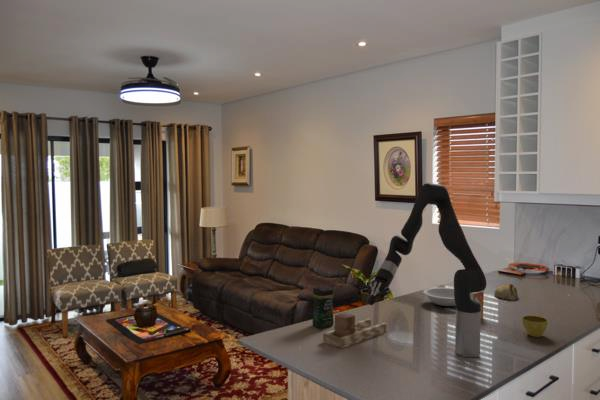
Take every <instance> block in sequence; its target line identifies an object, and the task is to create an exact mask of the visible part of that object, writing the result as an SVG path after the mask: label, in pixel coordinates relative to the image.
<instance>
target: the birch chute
mask: <svg viewBox="0 0 600 400" xmlns="http://www.w3.org/2000/svg"><path fill="white" fill-rule="evenodd" d="M385 333H387V323H386V322H381V323H378V324H375V325H372V319H371V318H365V319H362V320H359V321H357V322H356V321H355V333H352V334H350V335H347V336H344V337H341V338H340V337H337V336H335V329H333V330H329V331H326V332H323V334H322V342H323V343H324V344H327V345H329V346H333V347H335V348H338V349H343V348H346V347H350V346H352V345H354V344H357V343H360V342H362V341H366V340H368V339H371V338H374V337H376V336H379V335H381V334H385Z"/></svg>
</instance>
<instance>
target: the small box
mask: <svg viewBox="0 0 600 400" xmlns="http://www.w3.org/2000/svg"><path fill="white" fill-rule="evenodd" d="M484 291H485V290H484ZM484 291H482V292H475V293H470V299H471V300H474V301H477V302H479V303H480V305H481V318H483V317H484V300H485V299H484V293H485V292H484Z"/></svg>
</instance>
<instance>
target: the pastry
mask: <svg viewBox="0 0 600 400" xmlns="http://www.w3.org/2000/svg"><path fill="white" fill-rule="evenodd" d="M494 297H496V298H498V299H502V300H507V301H517V299H518V297H519V294H518V290H517V287H515V286H514V285H513V284H512V283H511V284H504V285H502V286H501V285H500V286H498V287H496V290H495V291H494Z"/></svg>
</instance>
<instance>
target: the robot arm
mask: <svg viewBox="0 0 600 400" xmlns="http://www.w3.org/2000/svg"><path fill="white" fill-rule="evenodd" d="M428 205H433V206H436V208H437V209H438V212H439V214H440V215H439V216H440V220H439V224H438V234H439V237H440V240H441V241H442V243H443V246H444V247H445V248H446V250H447V251H448V252H450V253H451V254H452V255H453V256H454V257H456V259H458V260H459V262H460V263H461V264H462V265H463V266H462V267H464V268H462V269H457V270H456V271H455V273H454V275H453V289H454V300H455V304H456V306H455V329H454V330H455V332H454V335H455V337H454V338H455V340H454V342H455V343H454V352H455V354H457V355H459V356H461V357H463V358H480V355H481V321H482V320H481V319H482V317H481V305H480V303H479V302H477V301H474V300H471V299H470V293H475V292H482V291H485V290H486V289H487V279H486V276H485V273H484V271H483V269H482V266H480V264H479V262H478V260H477V258H476V256H475V255H474V253H473V251H472V249H471V247H470V245H469V243H468V240H467V238H466V236H465V233H464V231H463V228H462V227H461V224H460V222H459V219H458V217H457V215H456V212H455V210H454V207H453V204H452V201H451V197H450V195H449V191H448V190H447V188H446V186H445V185H443V184H441V183H431V182H427V183H426V182H425V183H424V184H423V185H422V186H421V188H420V189H419V191H418V194H417V196H416V198H415V200H414V204H413V207H412V209H411V213H410V214H409V216H408V218H407V220H406V222H405V223H404V225H403V227H401V228H402V229H401V230H400V234H401V236H402V237H401V236H400V235H397V234H396V235H394V236H392V237H391V240H390V243H389V248H388V252H387V255H386V257H385V259H384V261H383V262H382V264H381V265H380V266H379V269H378V270H377V272H376V275H375V276H374V280H373V281H371V282H370V283H366V288H367V289H366V290H367V293H368V295H369V298H368V300H367V304H368V305H369V306H373V305H374V304H375V303H376V301H377V299H380V300H381V299H383V298H384V297H386V296H387V295H389V294H391V292H392V290H391V289H390V285H391V284H392V282H393V280H394V277H395V276H396V274H397V271H398V268H399V267H400V265H401V263H402V260H403V259H402V256H401V255H403V256H408V255H410V253H411V252H412V250H413V245H414V242H415V238H416V237H417V235H418V233H420V232H419V231H420V230H421V228H422V226H423V221H424V220H423V212H424V210H425V209H426V207H427V206H428Z"/></svg>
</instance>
